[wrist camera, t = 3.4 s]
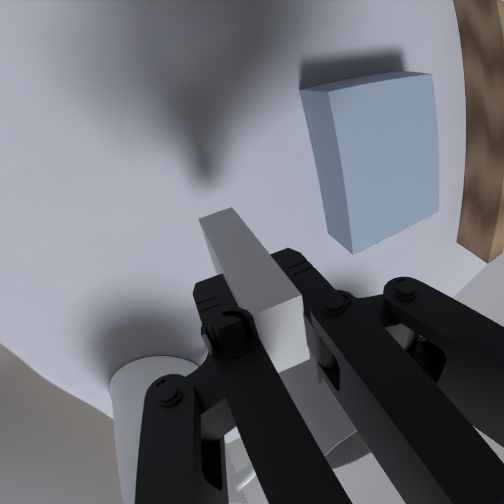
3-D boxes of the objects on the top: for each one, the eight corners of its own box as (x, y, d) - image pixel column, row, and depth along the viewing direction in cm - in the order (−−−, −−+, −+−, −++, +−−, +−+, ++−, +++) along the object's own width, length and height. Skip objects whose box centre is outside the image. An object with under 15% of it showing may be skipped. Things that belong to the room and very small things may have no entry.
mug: (215, 318, 22) (277, 471, 12) (256, 376, 27) (312, 492, 17) (88, 380, 21) (95, 521, 12) (147, 425, 26) (172, 537, 16)
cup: (356, 355, 31) (410, 425, 23) (289, 397, 31) (331, 475, 22) (339, 308, 26) (409, 393, 18) (256, 359, 26) (305, 459, 18)
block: (296, 89, 17) (327, 92, 14) (394, 70, 18) (431, 74, 15) (325, 231, 22) (352, 254, 19) (407, 194, 23) (438, 211, 20)
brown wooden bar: (453, -2, 15) (495, -2, 11) (471, 4, 16) (511, 6, 12) (456, 242, 28) (487, 263, 24) (472, 233, 29) (502, 253, 25)
